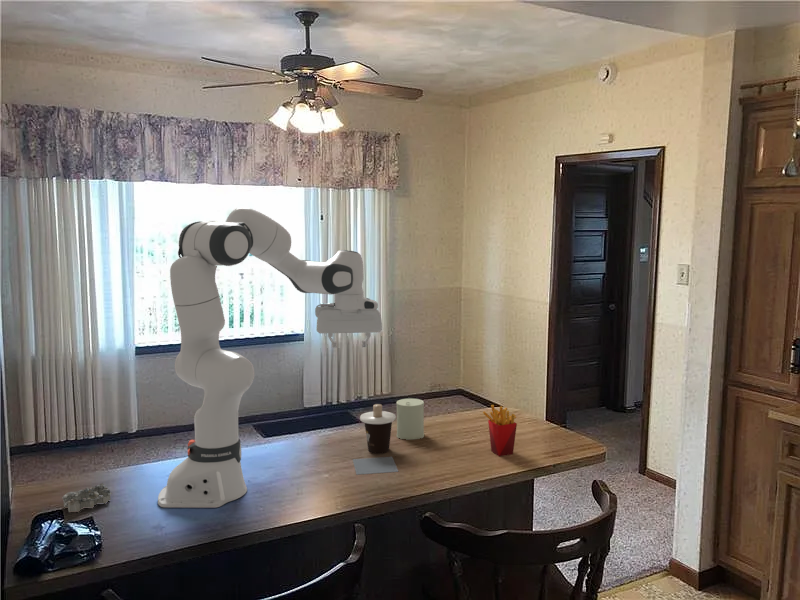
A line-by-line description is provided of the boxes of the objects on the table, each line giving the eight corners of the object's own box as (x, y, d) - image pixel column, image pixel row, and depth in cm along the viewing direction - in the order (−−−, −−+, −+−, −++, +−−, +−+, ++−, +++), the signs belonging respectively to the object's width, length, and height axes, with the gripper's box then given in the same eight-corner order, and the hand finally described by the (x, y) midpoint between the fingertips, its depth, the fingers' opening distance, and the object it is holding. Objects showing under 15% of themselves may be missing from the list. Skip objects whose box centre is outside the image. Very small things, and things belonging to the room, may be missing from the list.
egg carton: (69, 516, 166) (67, 500, 166) (61, 506, 172) (60, 491, 171) (113, 504, 173) (112, 488, 172) (105, 494, 179) (103, 480, 178)
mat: (356, 475, 189) (356, 474, 189) (352, 460, 201) (352, 459, 201) (398, 472, 191) (398, 471, 191) (392, 457, 203) (392, 456, 203)
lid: (362, 425, 202) (362, 411, 202) (358, 414, 213) (357, 401, 212) (398, 422, 204) (398, 409, 204) (392, 412, 215) (391, 399, 215)
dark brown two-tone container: (392, 456, 204) (391, 424, 203) (363, 456, 204) (363, 424, 203) (393, 443, 216) (392, 413, 214) (366, 443, 216) (365, 413, 215)
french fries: (506, 447, 210) (506, 401, 209) (520, 456, 203) (520, 408, 201) (481, 451, 207) (481, 404, 205) (494, 460, 200) (494, 411, 198)
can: (393, 439, 220) (392, 403, 218) (401, 430, 228) (400, 396, 227) (420, 441, 217) (419, 405, 216) (427, 432, 226) (427, 397, 224)
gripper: (315, 304, 202) (315, 349, 204) (382, 303, 205) (382, 348, 207) (314, 302, 208) (315, 346, 210) (380, 301, 211) (380, 344, 213)
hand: (349, 347), depth 208 cm, fingers open, 8 cm apart
